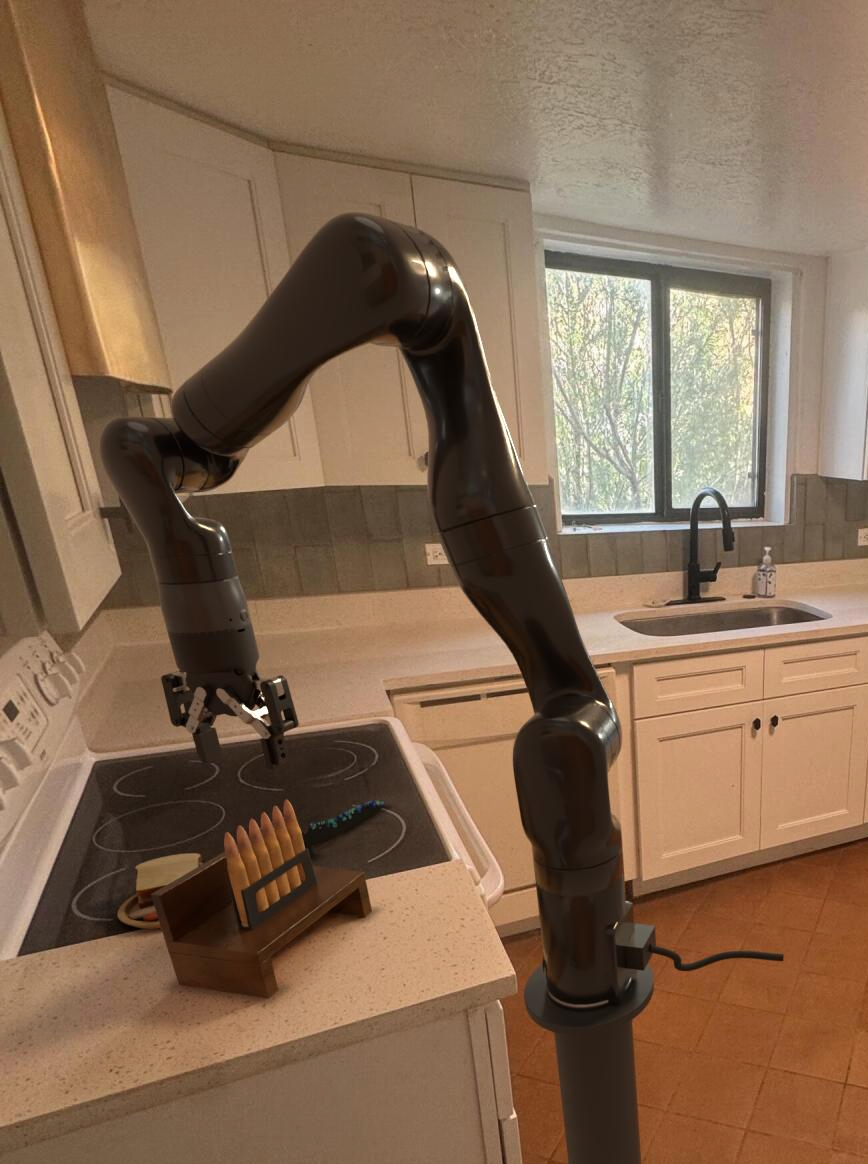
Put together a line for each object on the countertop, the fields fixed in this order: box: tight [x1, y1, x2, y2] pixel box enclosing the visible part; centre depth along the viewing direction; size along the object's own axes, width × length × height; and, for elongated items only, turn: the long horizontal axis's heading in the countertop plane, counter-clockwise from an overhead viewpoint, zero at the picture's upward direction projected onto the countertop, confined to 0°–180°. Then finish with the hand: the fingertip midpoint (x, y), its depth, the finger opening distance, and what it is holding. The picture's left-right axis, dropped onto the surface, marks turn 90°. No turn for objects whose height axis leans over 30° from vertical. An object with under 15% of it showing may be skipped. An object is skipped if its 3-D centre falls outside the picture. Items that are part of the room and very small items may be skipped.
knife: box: [301, 799, 387, 859], centre depth 119 cm, size 31×3×4 cm, turn 162°
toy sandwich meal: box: [117, 852, 203, 930], centre depth 105 cm, size 12×14×5 cm
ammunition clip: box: [223, 798, 317, 929], centre depth 92 cm, size 11×2×12 cm, turn 169°
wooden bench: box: [151, 823, 373, 999], centre depth 95 cm, size 12×18×12 cm, turn 168°
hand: (245, 764), depth 88 cm, fingers open, 8 cm apart
